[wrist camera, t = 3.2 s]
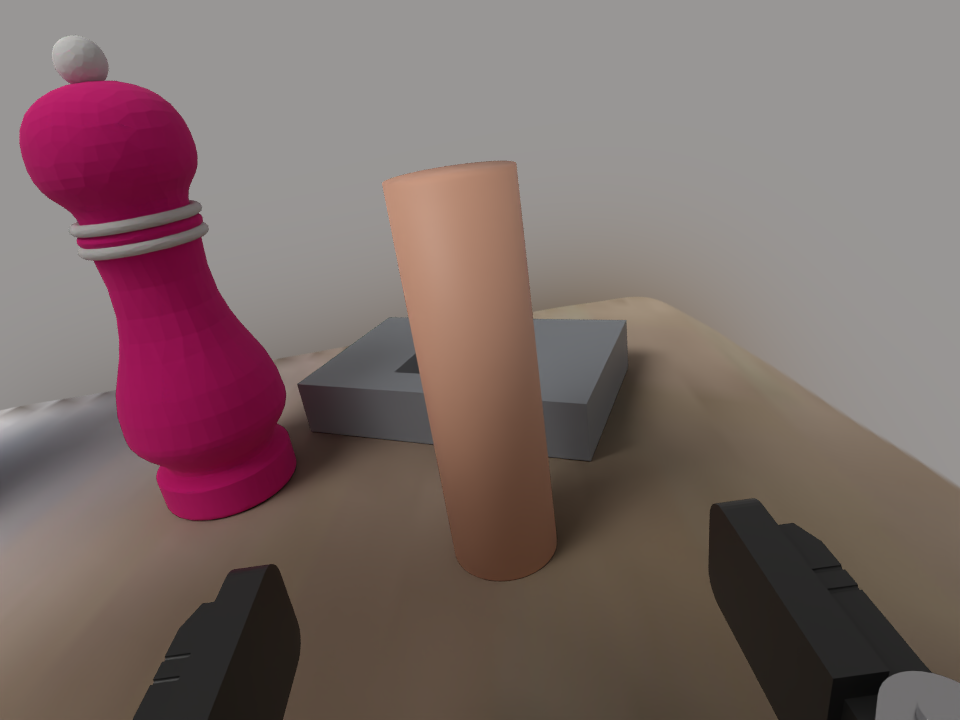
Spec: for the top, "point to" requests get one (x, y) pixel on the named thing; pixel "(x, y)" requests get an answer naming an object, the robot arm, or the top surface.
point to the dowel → (477, 360)
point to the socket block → (400, 399)
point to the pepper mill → (159, 289)
